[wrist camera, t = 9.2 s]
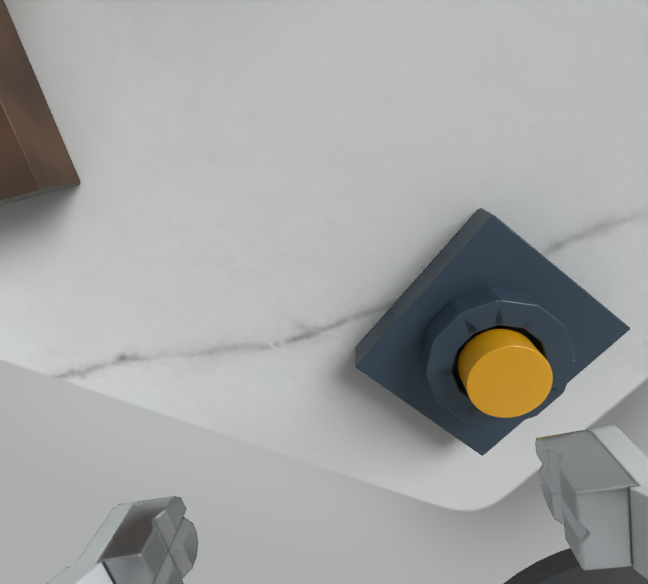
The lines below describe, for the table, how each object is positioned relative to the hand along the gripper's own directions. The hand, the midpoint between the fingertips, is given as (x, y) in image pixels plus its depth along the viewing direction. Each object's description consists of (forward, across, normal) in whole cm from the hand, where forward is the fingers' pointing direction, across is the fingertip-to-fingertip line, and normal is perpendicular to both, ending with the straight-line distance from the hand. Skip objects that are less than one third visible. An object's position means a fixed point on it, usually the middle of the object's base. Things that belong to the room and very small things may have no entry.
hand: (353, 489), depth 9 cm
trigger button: (+10, -6, +4) cm, 13 cm away
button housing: (+14, -6, +4) cm, 16 cm away
